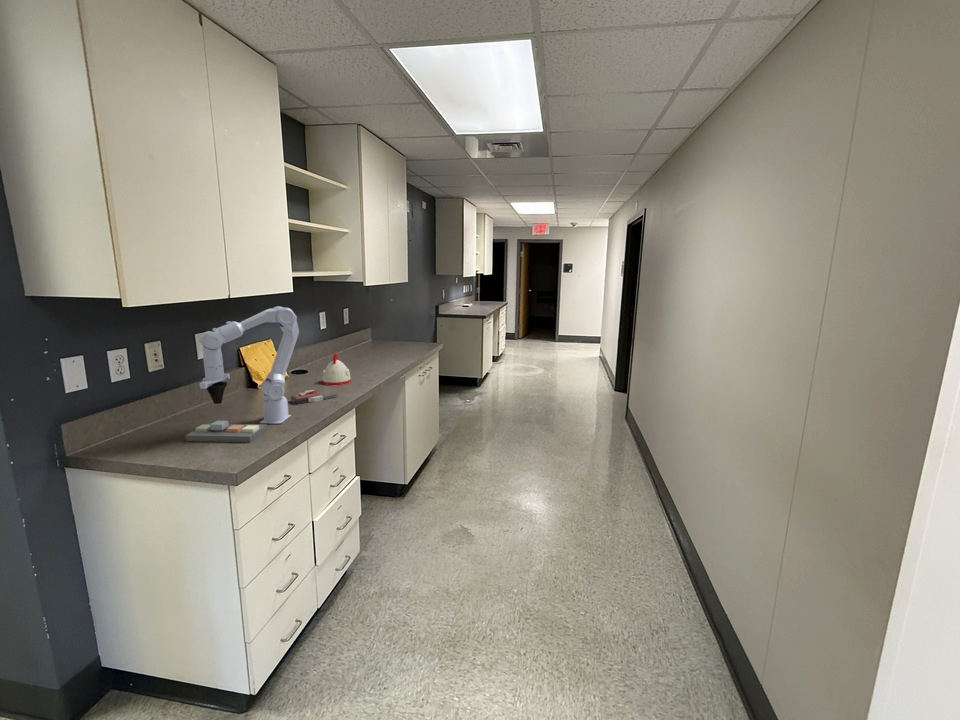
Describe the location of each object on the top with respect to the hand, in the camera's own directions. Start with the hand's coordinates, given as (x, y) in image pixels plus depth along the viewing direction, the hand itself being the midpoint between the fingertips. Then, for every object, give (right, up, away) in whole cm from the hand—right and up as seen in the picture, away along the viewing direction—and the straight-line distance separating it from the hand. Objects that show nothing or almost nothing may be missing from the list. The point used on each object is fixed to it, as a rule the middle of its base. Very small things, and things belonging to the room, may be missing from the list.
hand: (217, 403), depth 158 cm
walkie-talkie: (+19, -3, +43) cm, 47 cm away
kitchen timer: (+19, +4, +73) cm, 76 cm away
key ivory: (+13, -11, -2) cm, 17 cm away
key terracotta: (+8, -11, -2) cm, 13 cm away
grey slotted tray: (+5, -11, -2) cm, 12 cm away
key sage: (-3, -11, -2) cm, 11 cm away
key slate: (+2, -9, -2) cm, 10 cm away
